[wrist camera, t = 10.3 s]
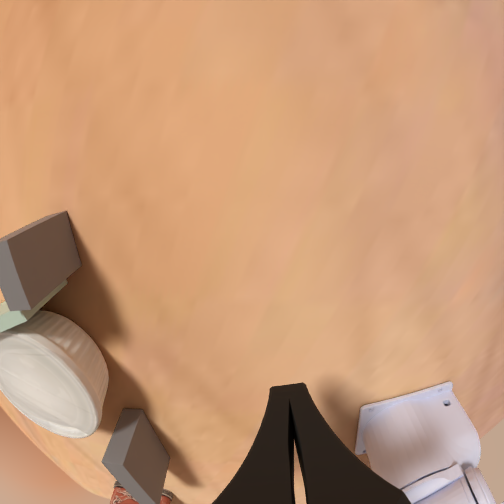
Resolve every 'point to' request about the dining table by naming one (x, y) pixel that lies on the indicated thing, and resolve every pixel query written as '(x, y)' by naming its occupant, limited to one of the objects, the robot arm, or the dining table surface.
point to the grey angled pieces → (35, 290)
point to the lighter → (123, 500)
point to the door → (23, 311)
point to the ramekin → (54, 374)
